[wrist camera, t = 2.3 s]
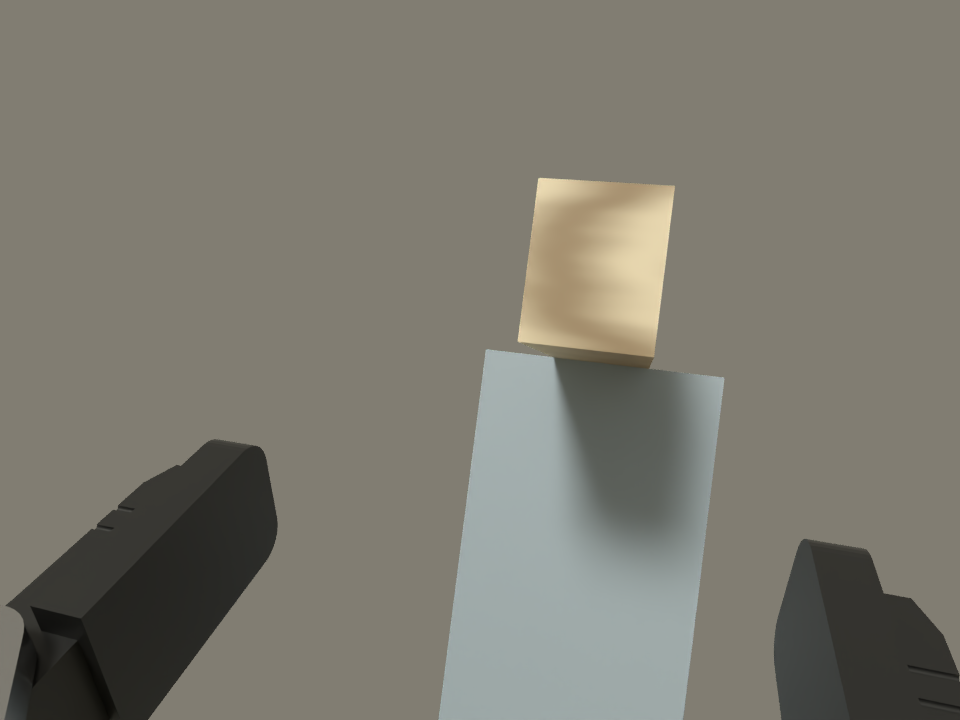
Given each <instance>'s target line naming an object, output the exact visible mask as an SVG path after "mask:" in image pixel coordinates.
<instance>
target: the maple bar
mask: <svg viewBox="0 0 960 720" xmlns="http://www.w3.org/2000/svg"><path fill="white" fill-rule="evenodd" d="M674 189H675V186H666V185H650V184H632V183H615V182H599V181H581V180H564V179H548V178H539V179H538V187H537V195H536V203H535V211H534V219H533V227H532V234H531V242H530V250H529V258H528V266H527V273H526V281H525V289H524V297H523V306H522V313H521V321H520V329H519V336H518V342H520V343H522V344H524V345H527V346H529V347H531V348H533V349H536V350H538V351H540V352H542V353H545V354H547V355H549V356H551V357H554V358H562V359H571V360H579V361H587V362H596V363H604V364H613V365H621V366H629V367H638V368H646V369H649V367H650V365H651V362H652V360H653V358H654V352H655V344H656V336H657V328H658V320H659V312H660V302H661V295H662V287H663V278H664V271H665V263H666V255H667V246H668V238H669V229H670V222H671V214H672V205H673V197H674Z"/></svg>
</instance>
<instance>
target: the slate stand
mask: <svg viewBox="0 0 960 720" xmlns="http://www.w3.org/2000/svg"><path fill="white" fill-rule="evenodd" d="M723 385H724V378H722V377H713V376H704V375H696V374H688V373H679V372H671V371H663V370H655V369H654V370H653V369H646V368H638V367H629V366H621V365H613V364H604V363H596V362H587V361H579V360H571V359H562V358H554V357H546V356H537V355H528V354H520V353H512V352H503V351H495V350H487V349H486V355H485V362H484V370H483V378H482V385H481V393H480V401H479V409H478V416H477V424H476V432H475V440H474V448H473V455H472V463H471V471H470V479H469V487H468V495H467V502H466V510H465V518H464V526H463V533H462V541H461V549H460V557H459V565H458V572H457V580H456V588H455V596H454V604H453V612H452V619H451V627H450V635H449V643H448V651H447V659H446V667H445V674H444V682H443V690H442V698H441V706H440V713H439V720H683V717H684V709H685V700H686V692H687V684H688V675H689V667H690V658H691V650H692V642H693V634H694V625H695V616H696V609H697V601H698V592H699V584H700V576H701V568H702V559H703V551H704V543H705V534H706V526H707V518H708V509H709V501H710V492H711V485H712V476H713V467H714V460H715V451H716V443H717V435H718V427H719V418H720V410H721V402H722V393H723Z"/></svg>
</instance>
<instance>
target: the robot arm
mask: <svg viewBox="0 0 960 720" xmlns="http://www.w3.org/2000/svg"><path fill="white" fill-rule="evenodd" d="M276 535H277V516H276V510H275V505H274V499H273V494H272V489H271V483H270V477H269V472H268V466H267V461H266V457H265V454H264V452H263V450H262V449H261V448H260V447H258V446H253V445H247V444H241V443H235V442H229V441H223V440H216V439H214V440H211V441H209V442H207V443H206V444H204V445H203V446H202V447H201V448H200V449H199V450H198V451H197V452H196V453H195V454H193V455H192V456H191V457H190V458H189V459H188V460H187V461H186V462H185V463H184V464H183V465H182V466H179V465H176V466H174V467H172V468H170V469H168V470H167V471H165V472H163V473H161V474H159V475H157V476H155V477H153V478H151V479H150V480H148V481H146V482H144V483H143V484H142V485H141V486H139V487H138V488H137V489H136V490H135V491H134V492H133V493H131V494H130V495H129V496H128V497H127V498H126V499H125V500H124V501H123V502H121V503H120V504H119V505H118V509H117V510H113V511H111V512H110V513H109V514H108V515H107V516H106V517H105V518H103V519H102V520H101V521H100V522H99V523H98V524H97V528H96V529H95V530H93V529H91V530H90V531H89V532H88V533H87V534H86V535H84V536H83V537H82V538H81V539H80V540H79V541H78V542H77V543H76V544H74V545H73V546H72V547H71V548H70V549H69V550H68V551H67V552H66V553H64V554H63V555H62V556H61V557H60V558H59V559H58V560H57V561H55V562H54V563H53V564H52V565H51V566H50V567H49V568H48V569H46V570H45V571H44V572H43V573H42V574H41V575H40V576H39V577H38V578H37V579H35V580H34V581H33V582H32V583H31V584H30V585H29V586H28V587H26V588H25V589H24V590H23V591H22V592H21V593H20V594H19V595H17V596H16V597H15V598H14V599H13V600H12V601H10V602H9V603H8V604H7V605H6V606H2V605H0V720H148V719H149V717H150V716H151V715H152V713H153V712H154V711H155V709H156V708H157V706H158V705H159V704H160V703H161V701H162V700H163V699H164V697H165V696H166V695H167V693H168V692H169V691H170V689H171V688H172V687H173V685H174V684H175V683H176V681H177V680H178V678H179V677H180V676H181V674H182V673H183V672H184V670H185V669H186V668H187V666H188V665H189V664H190V662H191V661H192V660H193V658H194V657H195V656H196V654H197V653H198V652H199V650H200V649H201V648H202V646H203V645H204V644H205V642H206V641H207V640H208V638H209V637H210V635H211V634H212V633H213V632H214V630H215V629H216V627H217V626H218V625H219V624H220V622H221V621H222V619H223V618H224V617H225V615H226V614H227V613H228V611H229V610H230V608H231V607H232V606H233V605H234V603H235V602H236V601H237V599H238V598H239V597H240V595H241V594H242V593H243V591H244V589H246V587H247V586H248V584H249V583H250V582H251V581H252V579H253V578H254V577H255V575H256V574H257V573H258V571H259V570H260V569H261V567H262V566H263V564H264V563H265V562H266V560H267V559H268V557H269V555H270V553H271V551H272V549H273V546H274V544H275V540H276ZM774 663H775V673H776V680H777V688H778V695H779V703H780V710H781V718H782V720H960V682H959V673H958V670H957V668H956V665H955V663H954V660H953V658H952V656H951V653H950V650H949V648H948V646H947V643H946V641H945V638H944V636H943V634H942V633H941V632H940V631H939V630H938V629H937V628H936V626H935V625H934V624H933V623H932V622H931V621H930V620H929V618H928V617H927V616H926V615H925V614H924V613H923V612H922V610H921V609H920V608H919V607H918V606H917V605H916V604H915V602H914V601H913V600H912V599H911V598H905V597H900V596H895V595H889V594H884V593H883V590H882V587H881V584H880V581H879V579H878V576H877V573H876V570H875V567H874V564H873V560H872V558H871V555H870V554H869V552H868V551H867V550H866V549H862V548H856V547H849V546H844V545H837V544H832V543H826V542H820V541H814V540H808V539H804V540H802V541H801V543H800V545H799V547H798V550H797V553H796V556H795V560H794V563H793V567H792V570H791V574H790V577H789V581H788V584H787V588H786V591H785V595H784V598H783V602H782V605H781V609H780V612H779V616H778V619H777V624H776V631H775V641H774Z"/></svg>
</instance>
